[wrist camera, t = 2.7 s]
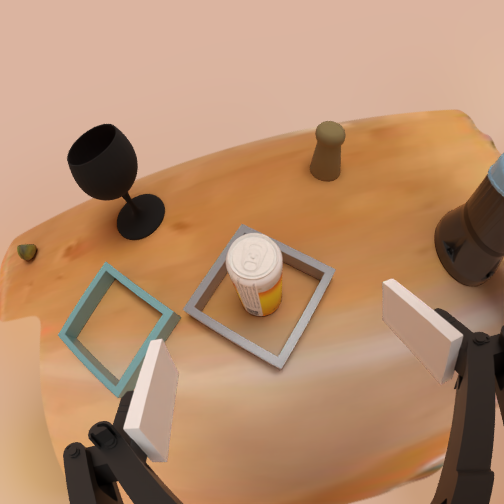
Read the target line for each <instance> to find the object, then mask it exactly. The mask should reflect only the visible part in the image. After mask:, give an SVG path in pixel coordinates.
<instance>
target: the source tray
mask: <svg viewBox="0 0 504 504" xmlns="http://www.w3.org/2000/svg"><path fill="white" fill-rule="evenodd" d="M249 233H259V234H262V233H260V232H258V231H256V230H254V229H252V228H250V227H248V226H245V225H243V224H242V225H241V226H240V227H239V229H238V230H237V232H236V233H235V234H234V236H233V237H232V239H231V240H230V242H229V243H228V244H227V246H226V247H225V249H224V250H223V252H222V253H221V255H220V256H219V257H218V259H217V260H216V262H215V263H214V265H213V266H212V268H211V269H210V270H209V272H208V273H207V275H206V276H205V278H204V279H203V281H202V282H201V284H200V285H199V286H198V288H197V289H196V291H195V292H194V294H193V295H192V297H191V298H190V300H189V301H188V303H187V304H186V306H185V307H184V309H183V310H184V311H185V312H186V313H187V314H189V315H190V316H191V317H193V318H194V319H196V320H198V321H199V322H201V323H202V324H204V325H205V326H207V327H208V328H210V329H212V330H213V331H215V332H216V333H218V334H220V335H221V336H223V337H225V338H226V339H228V340H229V341H231V342H233V343H234V344H236V345H238V346H239V347H241V348H243V349H245V350H246V351H248V352H250V353H251V354H253V355H255V356H257V357H258V358H260V359H262V360H264V361H265V362H267V363H269V364H271V365H273V366H274V367H276V368H278V369H280V370H281V369H282V368H283V366H284V364H285V363H286V361H287V359H288V358H289V356H290V354H291V352H292V351H293V349H294V347H295V346H296V344H297V342H298V340H299V339H300V337H301V335H302V333H303V331H304V330H305V328H306V326H307V324H308V322H309V321H310V319H311V317H312V315H313V313H314V311H315V310H316V308H317V306H318V304H319V302H320V300H321V298H322V296H323V294H324V292H325V291H326V289H327V287H328V285H329V283H330V281H331V279H332V277H333V274H334V272H335V270H336V269H334V268H332V267H330V266H328V265H326V264H324V263H322V262H320V261H317V260H315V259H313V258H311V257H309V256H307V255H305V254H303V253H301V252H299V251H297V250H295V249H293V248H291V247H289V246H287V245H285V244H283V243H281V242H279V241H277V240H275V239H273V238H270V237H269V238H270V239H272V240H273V241H274V242H275V243H276V244H277V245H278V247H279V248H280V250H281V253H282V261H283V262H285V263H287V264H289V265H291V266H293V267H295V268H297V269H299V270H301V271H302V272H304V273H306V274H308V275H310V276H312V277H314V278H316V279H318V280H320V283H319V285H318V287H317V289H316V291H315V293H314V294H313V296H312V298H311V300H310V302H309V304H308V305H307V307H306V309H305V311H304V313H303V314H302V316H301V318H300V320H299V322H298V323H297V325H296V327H295V329H294V330H293V332H292V334H291V336H290V337H289V339H288V341H287V342H286V344H285V346H284V348H283V349H282V351H281V353H280V354H279V356H278V357H277V356H275V355H274V354H272V353H270V352H268V351H266V350H265V349H263V348H261V347H259V346H258V345H256V344H254V343H252V342H251V341H249V340H247V339H245V338H244V337H242V336H240V335H239V334H237V333H235V332H234V331H232V330H230V329H229V328H227V327H225V326H224V325H222V324H220V323H219V322H217V321H215V320H214V319H212V318H211V317H209V316H207V315H206V314H204V313H203V312H201V311H202V310H203V308H204V307H205V305H206V304H207V302H208V301H209V299H210V298H211V296H212V295H213V293H214V292H215V290H216V289H217V287H218V286H219V284H220V283H221V281H222V280H223V278H224V277H225V275H226V274H227V272H228V271H227V268H226V256H227V253H228V250H229V249H230V246H231V245H232V243H233V242H234V241H235V240H236V239H237V238H239V237H241V236H243V235H245V234H249ZM263 235H264V234H263ZM267 237H268V236H267Z"/></svg>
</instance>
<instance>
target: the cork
mask: <svg viewBox="0 0 504 504" xmlns="http://www.w3.org/2000/svg"><path fill="white" fill-rule="evenodd" d="M315 134H316V139H317V145H316V148H315V152H314V155H313V158H312V162H311V165H310V171H311V173H312V175H313V176H314V177H315V178H317V179H319V180H322V181H332V180H335V179H337V178H338V176H339V175H340V164H341V145H342V144H343V142H344V140H345V130H344V129H343V127H342V126H341V125H340V124H338V123H336V122H332V121H326V122H323V123H321V124H320V125H318V127H317V129H316V133H315Z"/></svg>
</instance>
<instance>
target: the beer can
mask: <svg viewBox="0 0 504 504" xmlns="http://www.w3.org/2000/svg"><path fill="white" fill-rule="evenodd" d="M226 268H227V271H228V273H229V275H230V278H231V280H232V282H233V285H234V287H235V289H236V291H237V294H238V296H239V298H240V301H241V303H242V305H243V307H244V308H245V309H246V310H247V311H248V312H249V313H251V314H253V315H256V316H266V315H269V314H271V313H273V312H274V311H275V310H276V309H277V308H278V307H279V305H280V303H281V298H282V253H281V250H280V248H279V247H278V245H277V244H276V243H275V242H274V241H273V240H272V239H270V238H269V237H267V236H266V235H263V234H259V233H249V234H245V235H243V236H241V237H239V238H237V239H236V240H235V241H234V242H233V243H232V245H231V246H230V249H229V250H228V253H227V256H226Z"/></svg>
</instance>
